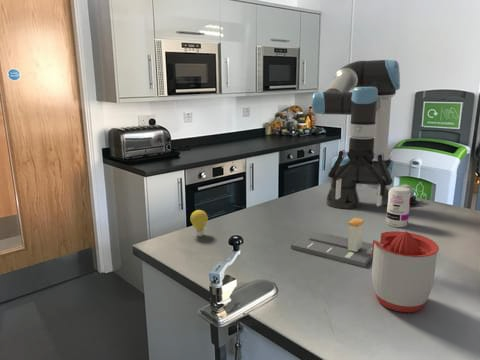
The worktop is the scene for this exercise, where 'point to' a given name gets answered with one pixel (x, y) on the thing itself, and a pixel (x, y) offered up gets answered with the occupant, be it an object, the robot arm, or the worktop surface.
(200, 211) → the light bulb
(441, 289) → the worktop surface
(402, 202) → the supplement can
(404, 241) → the citrus juicer
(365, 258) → the fader panel
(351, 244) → the fader knob
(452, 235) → the worktop surface
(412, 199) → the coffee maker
